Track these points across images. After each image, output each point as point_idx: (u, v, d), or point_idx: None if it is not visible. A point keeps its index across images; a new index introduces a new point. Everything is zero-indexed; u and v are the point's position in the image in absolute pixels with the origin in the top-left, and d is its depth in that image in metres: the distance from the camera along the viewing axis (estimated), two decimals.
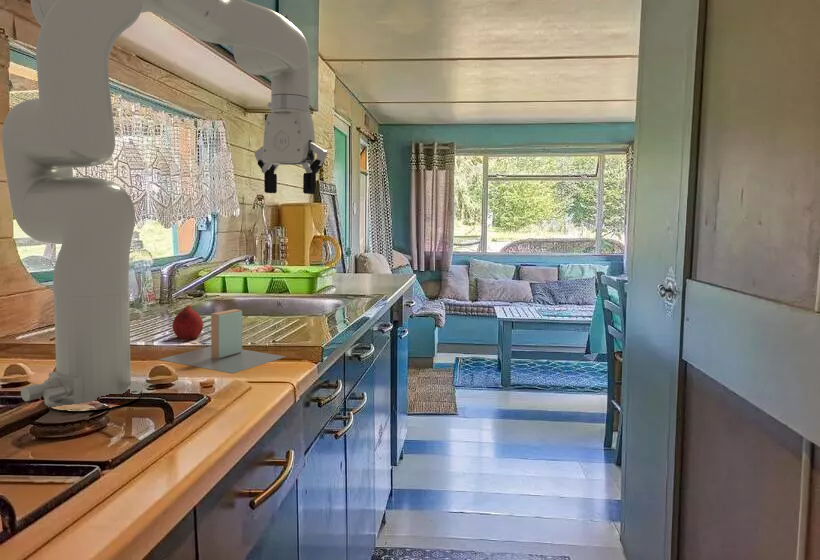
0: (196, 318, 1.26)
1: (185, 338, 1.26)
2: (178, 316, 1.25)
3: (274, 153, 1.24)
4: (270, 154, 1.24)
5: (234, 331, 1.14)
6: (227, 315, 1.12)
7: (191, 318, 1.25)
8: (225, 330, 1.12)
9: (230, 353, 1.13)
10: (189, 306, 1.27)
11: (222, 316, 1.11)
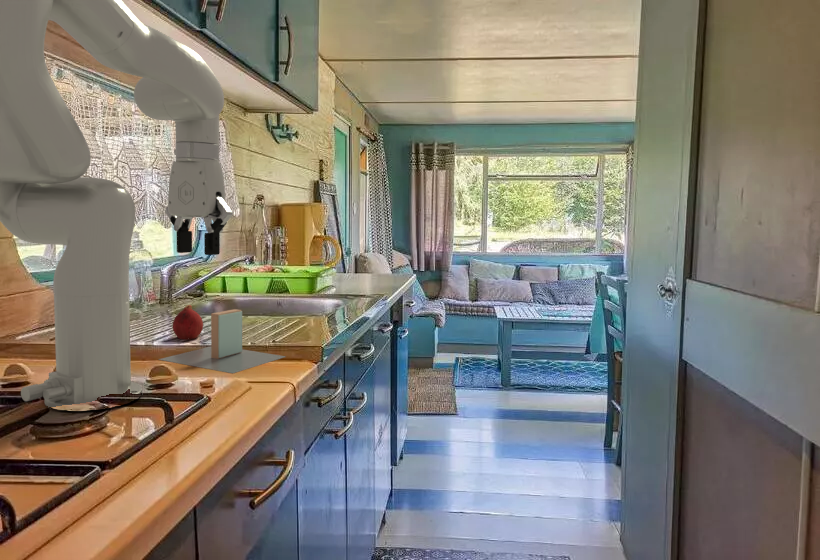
0: (196, 318, 1.26)
1: (185, 338, 1.26)
2: (178, 316, 1.25)
3: (179, 206, 1.12)
4: (175, 206, 1.13)
5: (234, 331, 1.14)
6: (227, 315, 1.12)
7: (191, 318, 1.25)
8: (225, 330, 1.12)
9: (230, 353, 1.13)
10: (189, 306, 1.27)
11: (222, 316, 1.11)
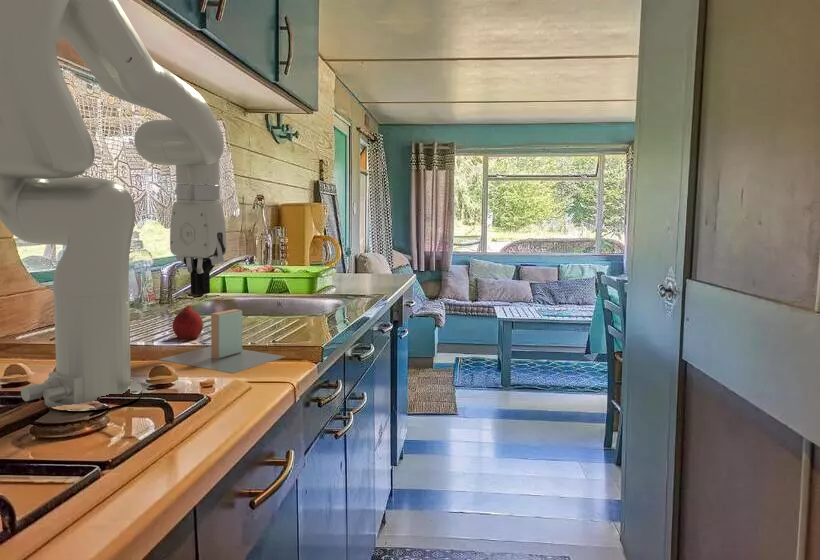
0: (196, 318, 1.26)
1: (185, 338, 1.26)
2: (178, 316, 1.25)
3: (181, 246, 1.13)
4: (177, 247, 1.14)
5: (234, 331, 1.14)
6: (227, 315, 1.12)
7: (191, 318, 1.25)
8: (225, 330, 1.12)
9: (230, 353, 1.13)
10: (189, 306, 1.27)
11: (222, 316, 1.11)
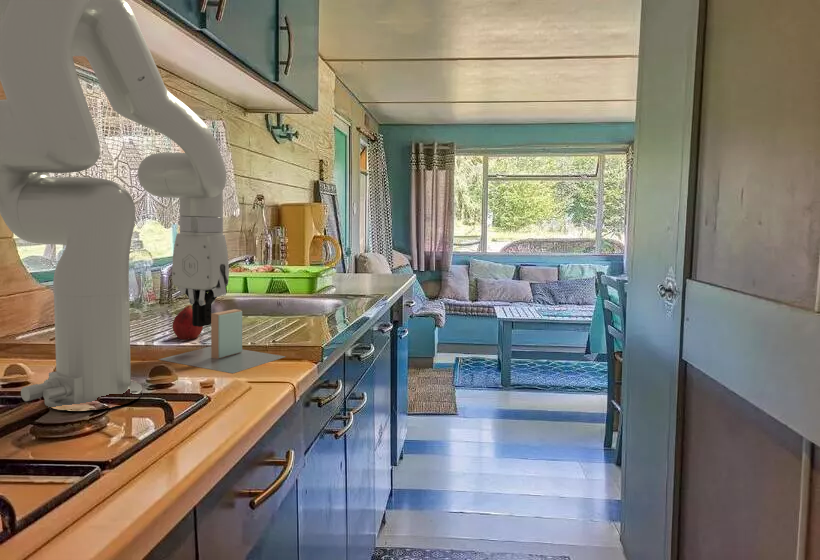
0: None
1: (185, 338, 1.26)
2: (178, 316, 1.25)
3: (183, 278, 1.13)
4: (179, 278, 1.14)
5: (234, 331, 1.14)
6: (227, 315, 1.12)
7: (191, 318, 1.25)
8: (225, 330, 1.12)
9: (230, 353, 1.13)
10: (189, 306, 1.27)
11: (222, 316, 1.11)
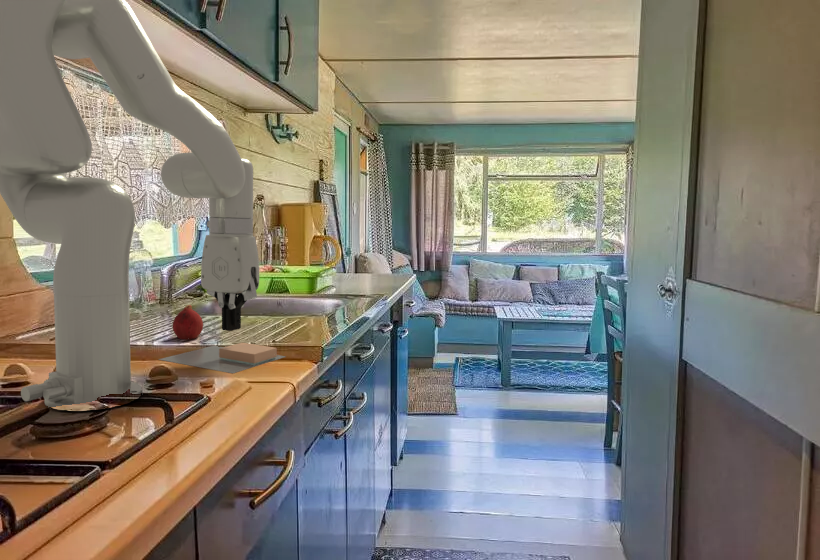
0: (196, 318, 1.26)
1: (185, 338, 1.26)
2: (178, 316, 1.25)
3: (213, 280, 1.10)
4: (208, 281, 1.11)
5: None
6: (260, 362, 1.09)
7: (191, 318, 1.25)
8: None
9: None
10: (189, 306, 1.27)
11: (255, 363, 1.08)
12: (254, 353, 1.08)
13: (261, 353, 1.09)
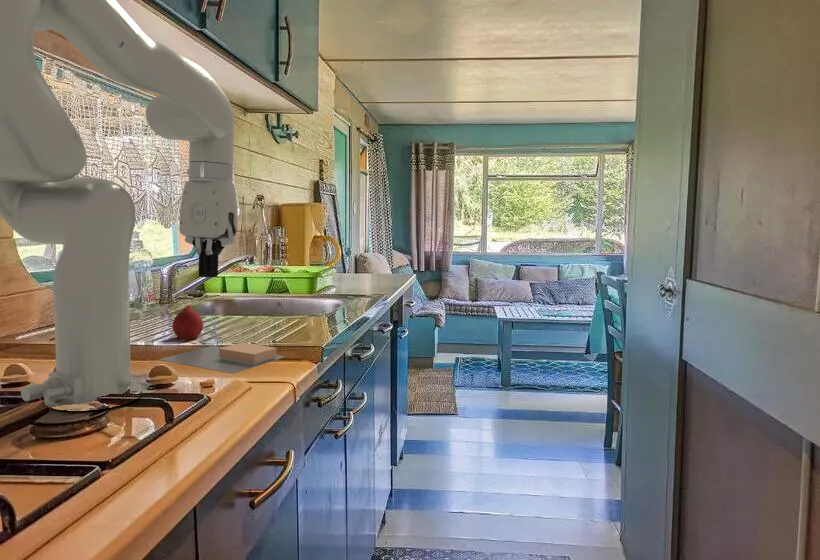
0: (196, 318, 1.26)
1: (185, 338, 1.26)
2: (178, 316, 1.25)
3: (190, 226, 1.11)
4: (186, 227, 1.11)
5: None
6: (260, 362, 1.09)
7: (191, 318, 1.25)
8: None
9: None
10: (189, 306, 1.27)
11: (255, 363, 1.08)
12: (254, 353, 1.08)
13: (261, 353, 1.09)
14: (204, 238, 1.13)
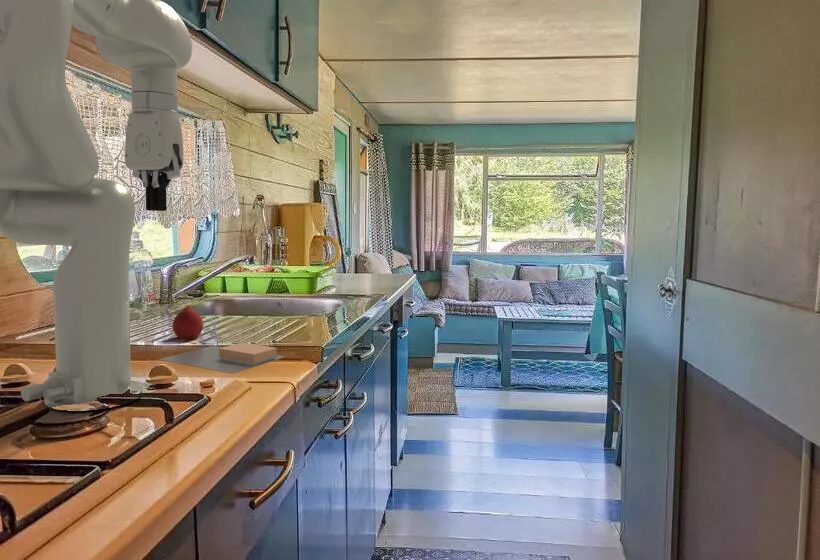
0: (196, 318, 1.26)
1: (185, 338, 1.26)
2: (178, 316, 1.25)
3: (135, 158, 1.09)
4: (131, 159, 1.10)
5: None
6: (260, 362, 1.09)
7: (191, 318, 1.25)
8: None
9: None
10: (189, 306, 1.27)
11: (255, 363, 1.08)
12: (254, 353, 1.08)
13: (261, 353, 1.09)
14: (151, 171, 1.11)
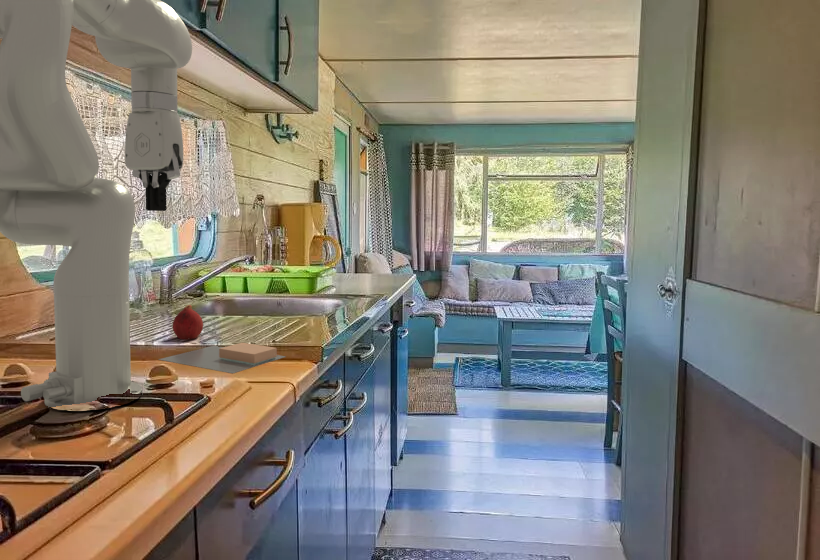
0: (196, 318, 1.26)
1: (185, 338, 1.26)
2: (178, 316, 1.25)
3: (135, 158, 1.09)
4: (131, 159, 1.10)
5: None
6: (260, 362, 1.09)
7: (191, 318, 1.25)
8: None
9: None
10: (189, 306, 1.27)
11: (255, 363, 1.08)
12: (254, 353, 1.08)
13: (261, 353, 1.09)
14: (151, 171, 1.11)
